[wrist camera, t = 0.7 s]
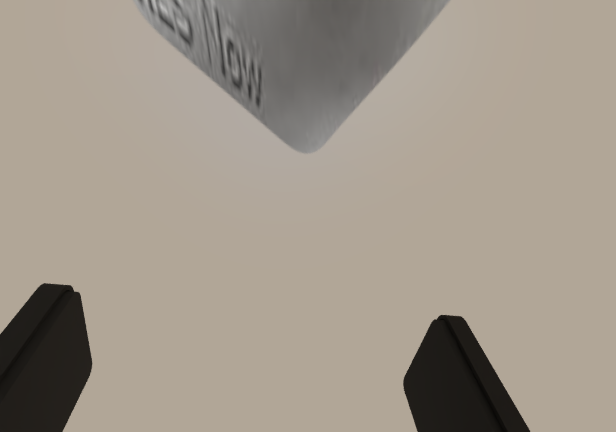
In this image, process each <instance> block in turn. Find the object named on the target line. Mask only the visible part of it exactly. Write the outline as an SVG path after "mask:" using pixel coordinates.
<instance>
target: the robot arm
mask: <svg viewBox="0 0 616 432" xmlns="http://www.w3.org/2000/svg"><path fill="white" fill-rule="evenodd" d="M91 369H92V358H91V353H90V347H89V341H88V336H87V330H86V324H85V318H84V312H83V307H82V301H81V296H80V293H79V292H74V290H73V288H72V286H70V285H58V284H46V283H44V284H42V285H40V287H38V289H37V290H36V291H35V292H34V293H33V295H32V296H31V297H30V298H29V300H28V301H27V302H26V303H25V305H24V306H23V307H22V308H21V309H20V311H19V312H18V313H17V315H16V316H15V317H14V318H13V319H12V321H11V322H10V323H9V324H8V326H7V327H6V328H5V329H4V331H3V332H2V333H1V334H0V432H62V431H63V429H64V427H65V425H66V423H67V421H68V419H69V417H70V415H71V413H72V411H73V409H74V407H75V405H76V403H77V401H78V399H79V397H80V394H81V392H82V390H83V388H84V386H85V384H86V382H87V380H88V378H89V376H90V372H91ZM403 385H404V391H405V394H406V397H407V400H408V403H409V407H410V410H411V412H412V415H413V419H414V422H415V425H416V428H417V431H418V432H530V430H529V428H528V427H527V425H526V423H525V422H524V420H523V418H522V417H521V415H520V413H519V411H518V410H517V408H516V407H515V405H514V403H513V401H512V399H511V398H510V396H509V394H508V393H507V391H506V389H505V387H504V386H503V384H502V382H501V381H500V379H499V377H498V375H497V374H496V372H495V370H494V369H493V367H492V365H491V364H490V362H489V360H488V358H487V357H486V355H485V353H484V351H483V350H482V348H481V346H480V345H479V343H478V341H477V340H476V338H475V336H474V334H473V333H472V331H471V329H470V328H469V326H468V324H467V322H466V321H465V320H464V318H462V317H461V316H449V315H440V316H439V317H438V318H437V320H433V322H432V323H431V325H430V327H429V329H428V331H427V333H426V335H425V337H424V339H423V341H422V343H421V345H420V347H419V349H418V351H417V353H416V355H415V357H414V359H413V361H412V363H411V365H410V367H409V369H408V371H407V373H406V375H405V377H404V383H403Z"/></svg>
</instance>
